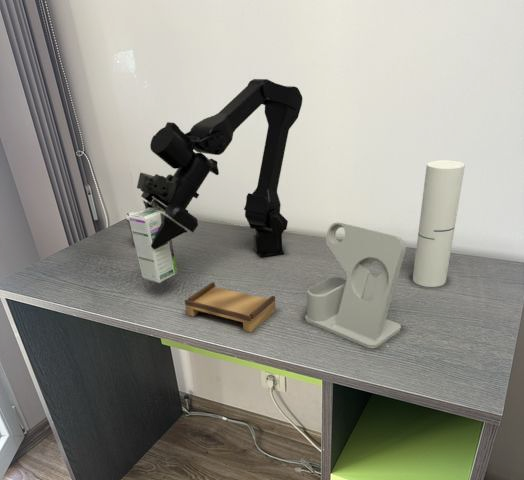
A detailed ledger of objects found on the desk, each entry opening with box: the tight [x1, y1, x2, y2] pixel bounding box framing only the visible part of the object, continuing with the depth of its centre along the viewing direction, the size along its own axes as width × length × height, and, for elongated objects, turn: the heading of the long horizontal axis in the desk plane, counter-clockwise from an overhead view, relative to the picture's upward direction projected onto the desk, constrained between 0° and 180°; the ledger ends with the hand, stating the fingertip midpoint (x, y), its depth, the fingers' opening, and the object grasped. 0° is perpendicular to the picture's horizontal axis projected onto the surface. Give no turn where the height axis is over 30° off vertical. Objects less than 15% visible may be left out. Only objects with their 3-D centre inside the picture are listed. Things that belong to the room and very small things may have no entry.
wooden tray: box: [184, 282, 277, 333], centre depth 102 cm, size 16×10×4 cm, turn 59°
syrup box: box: [128, 207, 178, 284], centre depth 106 cm, size 6×6×14 cm
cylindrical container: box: [412, 159, 466, 288], centre depth 104 cm, size 7×7×25 cm
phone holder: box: [304, 222, 407, 349], centre depth 92 cm, size 17×10×18 cm, turn 45°
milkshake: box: [125, 211, 138, 246], centre depth 137 cm, size 4×5×10 cm
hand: (147, 242), depth 105 cm, fingers closed on syrup box, 7 cm apart
